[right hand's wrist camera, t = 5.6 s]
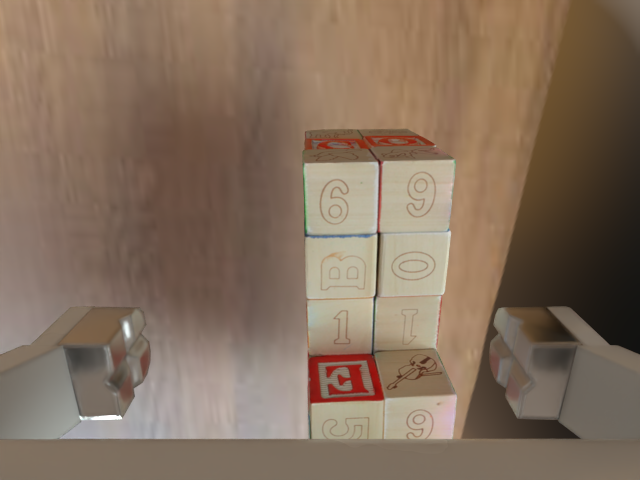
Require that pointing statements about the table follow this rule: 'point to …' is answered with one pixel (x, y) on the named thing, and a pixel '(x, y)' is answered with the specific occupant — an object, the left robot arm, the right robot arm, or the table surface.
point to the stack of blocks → (376, 284)
